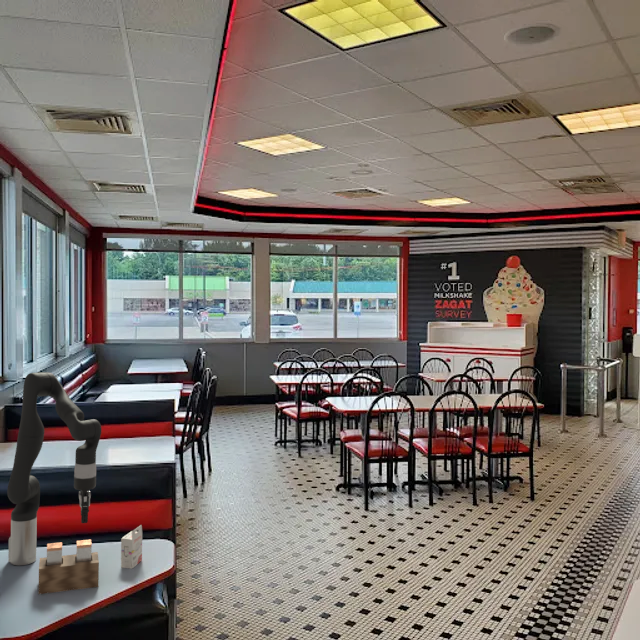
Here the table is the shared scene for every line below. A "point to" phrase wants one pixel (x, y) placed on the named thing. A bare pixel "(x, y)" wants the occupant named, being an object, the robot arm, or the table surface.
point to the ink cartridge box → (131, 548)
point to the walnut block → (68, 574)
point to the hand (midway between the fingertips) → (84, 519)
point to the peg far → (83, 551)
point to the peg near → (54, 554)
